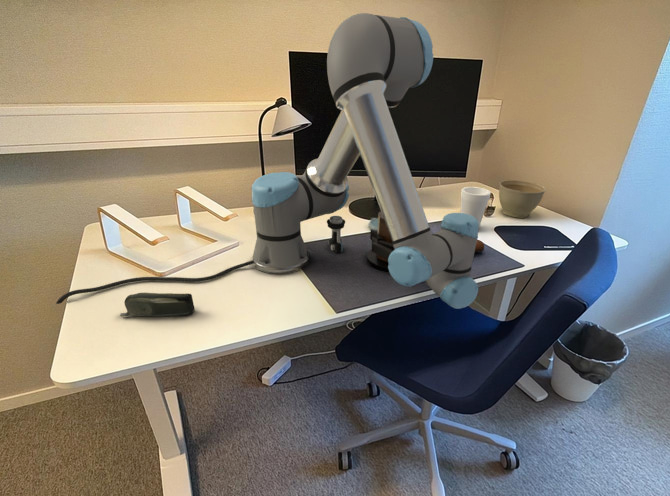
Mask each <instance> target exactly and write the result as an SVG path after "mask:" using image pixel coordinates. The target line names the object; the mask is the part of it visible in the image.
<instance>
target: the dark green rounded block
mask: <svg viewBox="0 0 670 496" xmlns="http://www.w3.org/2000/svg"><path fill="white" fill-rule="evenodd" d="M193 299H194V298H193V295H192V293H172V292H170V293H169V292H166V293H162V292H161V293H160V292H159V293H158V292H137V293H133V294H129V295H127V296H126V298H125V299H124V301H123V303H124V306H125V309H126V312H122V313H121V312H120V314H119V316H120V317H156V316H157V317H159V316H165V317H170V316H171V317H173V316H174V317H177V316H178V317H181V316H183V317H185V316H189V315H191V314H193V313H194V311H195V304H194V300H193Z"/></svg>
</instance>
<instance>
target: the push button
mask: <svg viewBox="0 0 670 496" xmlns="http://www.w3.org/2000/svg"><path fill="white" fill-rule="evenodd" d="M326 224H327V227H328V228H329V229H331V238H330V239H328V240H327V241H328V245H329V248H330V250H331V251H334V252H335V254H339V253H343V252H344V245H343V241H342V237H341V230H342V229H344V228H345V224H346V220H345V219H343V217H342V216H341V215H331V216H330V217H329V218H328V219H327V220H326Z"/></svg>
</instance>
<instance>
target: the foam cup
mask: <svg viewBox="0 0 670 496" xmlns="http://www.w3.org/2000/svg"><path fill="white" fill-rule="evenodd" d="M491 195H492V192H491V190H489V189H487V188H484V187H478V186H465V187H462V188H461V191H460V213H464V214H468V215H471V216H473V217H475V218H476V219H477V220H478V222H479V228H480V226H481V223H482V220H483V218H484V216H485V212H486V208H487V206H488V203H489V201H490V199H491ZM479 228H478V230H479Z"/></svg>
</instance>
